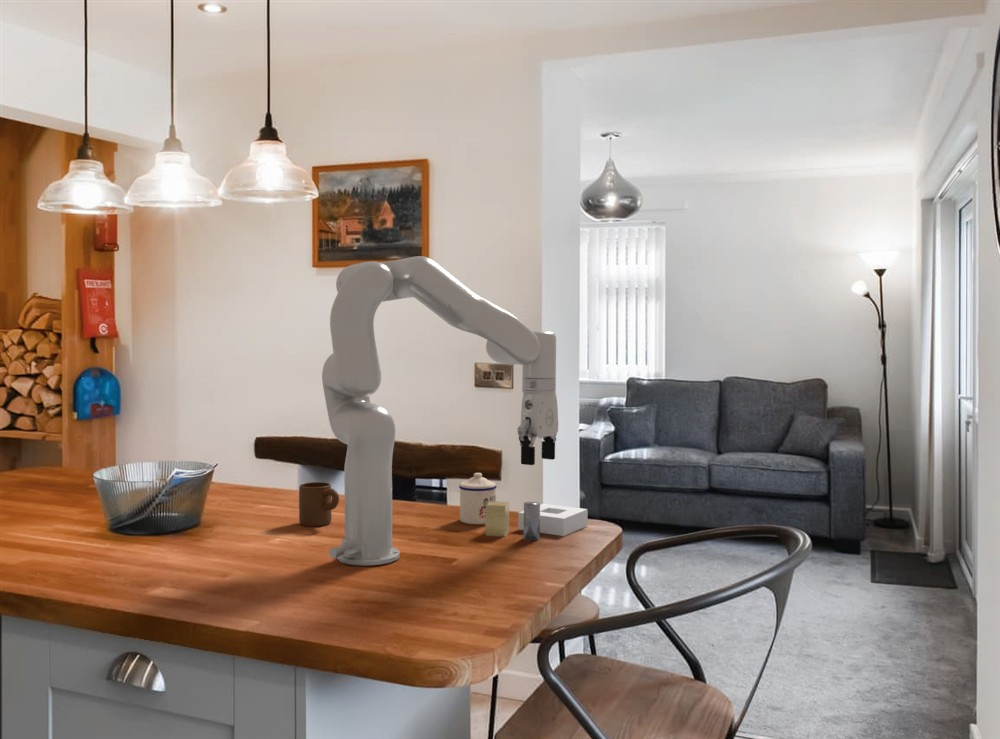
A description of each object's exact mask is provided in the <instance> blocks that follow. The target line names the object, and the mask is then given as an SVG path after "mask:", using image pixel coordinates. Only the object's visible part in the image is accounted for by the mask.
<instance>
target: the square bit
mask: <svg viewBox="0 0 1000 739" xmlns="http://www.w3.org/2000/svg"><path fill="white" fill-rule="evenodd" d="M509 533H510V502H509V501H490V502H488V503H487V504H486V524H485V537H486V536H487V537H488V536H489V537H504V538H505V537H506V536H507V535H508V534H509Z"/></svg>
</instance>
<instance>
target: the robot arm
mask: <svg viewBox="0 0 1000 739" xmlns="http://www.w3.org/2000/svg"><path fill="white" fill-rule="evenodd" d="M335 287H336V292H337V294H336V296H335V298H334V300H333V303H332V307H331V309H330V310H331V311H330V317H329V328H330V336H331V344H332V352H333V353H331V354H330V355H329V356H328V357H327V359H326V360H325V362H324V363H323V367H322V371H321V372H322V373H321V382H322V388H323V393H324V395H323V396H324V399H325V405H326V412H327V417H328V420H329V421H328V422H329V425H330V429H331V430H332V433H333V435H334V437H335V438H336V439H337V440H338V441H340V442H341V443H343V444H345V445H346V446H347V447H346V448H347V449H346V456H345V461H344V470H343V471H344V472H343V473H344V477H343V478H344V538H341V544H340V545H339V546H335V547H332V548H330V549H329V552H328V554H329V557H330V558H332V559H336V558H337V561H339V562H340V563H342V564H345V565H350V566H360V567H361V566H364V567H365V566H367V567H368V566H378V565H386V564H391V563H393V562H395V561H397V560H399V558H400V557H401V556H400V555H401V551H400V550H399V549H398V548H396V547H393V475H392V474H393V472H392V471H393V468H392V467H393V454H394V447H395V446H394V445H395V440H396V424H395V421H394V419H393V417H392V414H391V413H390V412H389V411H388V409H386V408H385V407H383V406H381V405H379V404H377V403H373V402H372V403H371V399H370V398H371V397H370V396H372V395H373V394H375V393H376V392H377V390H379V388H380V385H381V383H382V372H381V365H380V360H379V354H378V350H377V343H376V339H375V338H376V337H375V327H374V319H375V315H376V312H377V310H378V308H379V306H380V305H381V304H382V302H383V303H384V302H387V301H388V302H390V301H395V300H396V301H397V300H401V299H408V298H409V299H410V298H413V299H414V298H415V300H417V301H418V302H419V303H421V304H422V305H423V306H425V307H427V309H428V310H430V311H431V312H433V313H434V314H435V315H437V316H438V317H439V318H440V319H442V320H443V321H444V322H446V323H447V324H448V325H450V326H452V327H453V328H456V329H458V330H460V331H463V332H467V333H471V334H473V335H476V336H478V337H480V338H483V339H485V340H487V341H486V344H485V345H486V346H485V349H486V353H487V355H488V356H489V357H490V359H491V360H493V361H494V362H496V363H500V364H506V365H520V366H522V373H521V374H522V379H521V380H522V382H521V384H522V388H521V389H522V391H521V393H522V399H521V400H522V402H521V411H520V412H521V413H520V425H519V426H518V427H517V433H518V440H519V446H520V463H521V465H526V466H527V465H528V466H534V465H535V464H536V454H535V453H536V447H535V446H534V444H535V442H536V439H537V438H539V439H541V438H542V441H541V459H543V460H555V459H556V442H557V434H558V432H559V412H558V411H559V410H558V409H559V407H558V400H557V393H556V392H557V391H556V389H557V384H556V383H557V378H556V377H557V337H556V334H555V333H554V332H553V331H549V330H548V331H547V330H532V329H531V328H530V327H528V326H527V325H526V324H524V322H522V321H521V320H520V319H518V317H516V316H514V315H513V314H512V313H510V312H508V311H507V310H505V309H503V308H501V307H499V306H498V305H496V304H494V303H492V302H491V301H489V300H488V299H485V298H484V297H482V296H479V295H478V294H476V293H475V292H474V291H472V290H471V289H470V288H468V287H467V286H466V285H464V284H463V283H462V282H461V281H459V280H458V279H457V278H456V277H454V276H453V275H452V274H451V273H449V272H448V271H447V270H446V269H444V268H443V266H441V265H440V264H438V263H437V262H436V261H435V260H433V259H431V258H429V257H427V256H423V255H418V256H410V257H406V258H400V259H395V260H394V259H393V260H388V261H381V262H380V261H375V260H372V261H371V260H370V261H365V262H364V261H363V262H359V263H356V264H350V265H348V266H345V267H344V268H343V269H342V270H341V271H339V274H338V275H337V277H336V282H335Z"/></svg>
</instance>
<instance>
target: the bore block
mask: <svg viewBox="0 0 1000 739" xmlns="http://www.w3.org/2000/svg"><path fill="white" fill-rule="evenodd" d="M588 513H589V511H588V509H587V508H582V507H572V506H566V505H565V506H564V505H558V504H557V505H556V504H549V503H540V534H546V535H554V536H561V537H565V536H568V535H570V534H572V533H574V532H577V531H579V530H581V529H584V528H586V527H588V516H589V515H588ZM517 516H518V520H517V521H518V525H517V527H518V530H519V531H524V510H522V511H519V512H518V514H517Z"/></svg>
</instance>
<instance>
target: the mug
mask: <svg viewBox="0 0 1000 739" xmlns="http://www.w3.org/2000/svg"><path fill="white" fill-rule="evenodd" d="M298 488H299V491H298V506H299V507H298V510H299V511H298V513H299V515H298V516H299V517H298V519H299V524H300V525H301V526H304V527H309V528H310V527H312V528H313V527H324V526H327V525H330V524H331V523H332V517H333V516H332V510H335V509H336V508H337V507H338V505H339V502H340V496H339V492H338V491H337V490H336V489H334V488H332V484H331V483H329V482H324V481H323V482H321V481H319V482H318V481H316V482H315V481H313V482H305V483H301V484H299V487H298Z"/></svg>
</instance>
